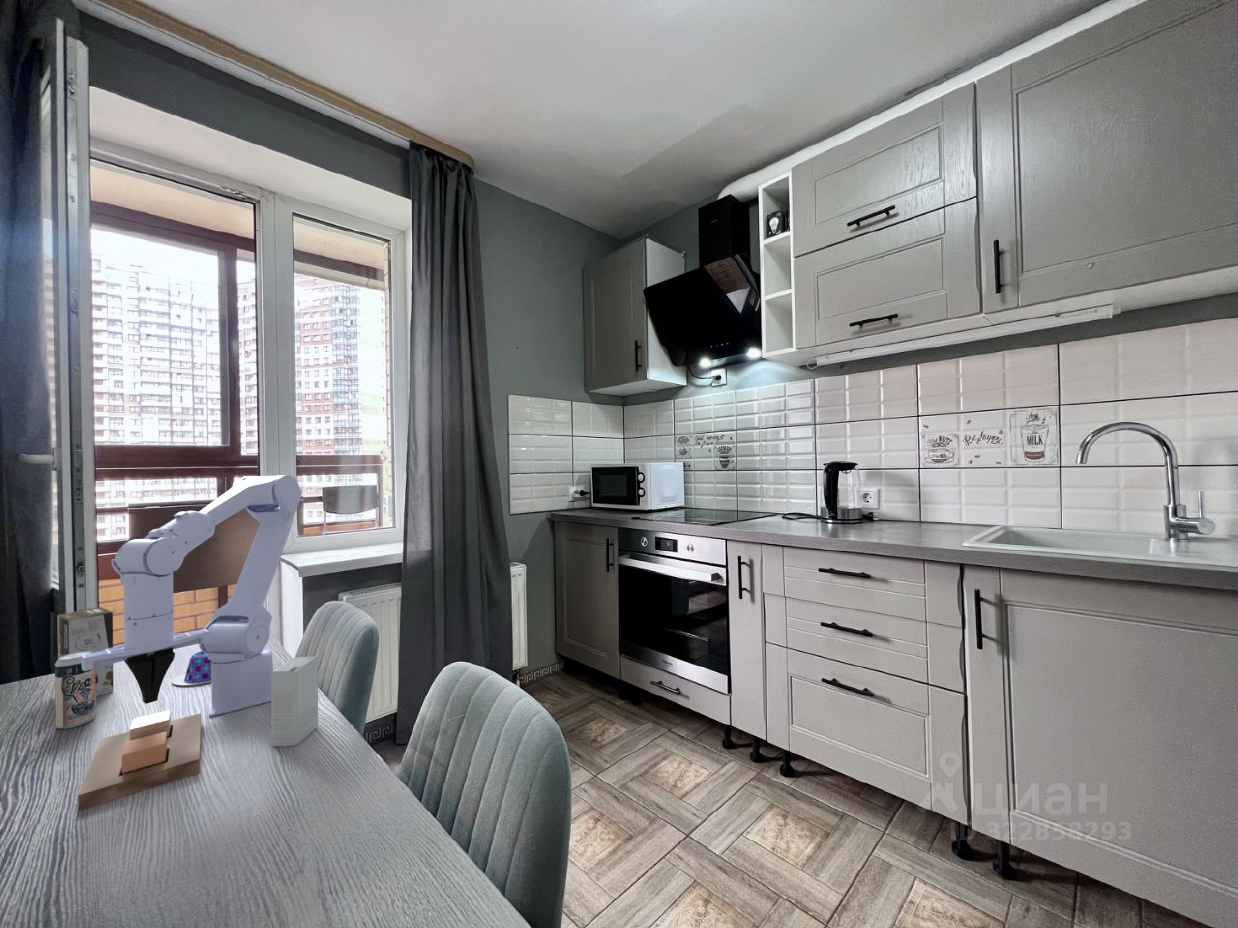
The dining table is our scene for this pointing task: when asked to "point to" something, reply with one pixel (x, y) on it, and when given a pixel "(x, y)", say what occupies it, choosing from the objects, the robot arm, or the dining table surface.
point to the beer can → (74, 691)
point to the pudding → (196, 670)
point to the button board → (113, 784)
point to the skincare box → (294, 701)
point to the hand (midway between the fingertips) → (150, 700)
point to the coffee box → (88, 639)
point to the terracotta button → (144, 752)
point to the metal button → (150, 725)
